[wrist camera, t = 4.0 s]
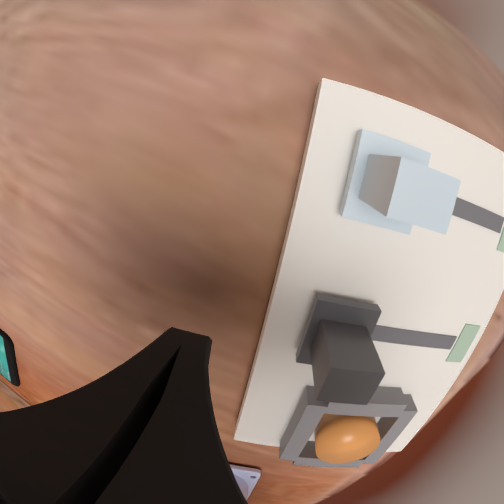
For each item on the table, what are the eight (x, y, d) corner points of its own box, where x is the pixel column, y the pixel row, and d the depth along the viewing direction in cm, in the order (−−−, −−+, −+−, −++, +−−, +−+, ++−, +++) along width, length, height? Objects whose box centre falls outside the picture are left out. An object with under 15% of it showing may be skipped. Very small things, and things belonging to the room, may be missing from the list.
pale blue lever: (403, 230, 11) (446, 263, 7) (338, 213, 11) (364, 242, 7) (424, 152, 10) (476, 158, 6) (358, 130, 10) (393, 122, 6)
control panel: (396, 436, 17) (404, 465, 15) (236, 422, 18) (230, 456, 15) (520, 170, 11) (554, 178, 8) (317, 85, 11) (328, 68, 8)
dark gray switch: (352, 362, 13) (367, 419, 10) (295, 353, 13) (297, 413, 10) (377, 304, 12) (405, 356, 9) (316, 292, 12) (327, 346, 9)
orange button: (359, 442, 15) (363, 463, 14) (305, 438, 15) (306, 462, 14) (384, 406, 14) (391, 429, 13) (326, 402, 14) (329, 427, 13)
